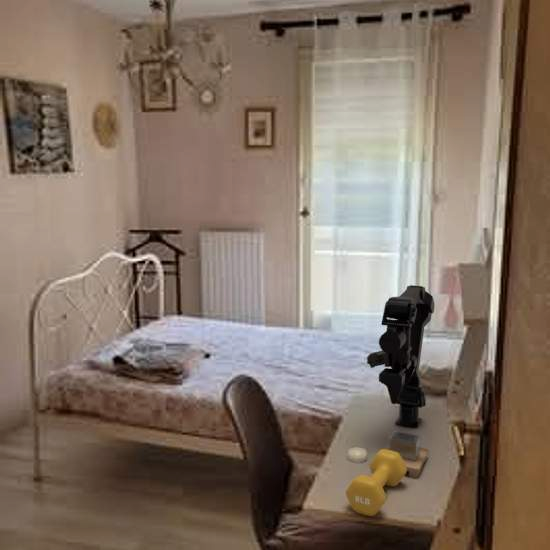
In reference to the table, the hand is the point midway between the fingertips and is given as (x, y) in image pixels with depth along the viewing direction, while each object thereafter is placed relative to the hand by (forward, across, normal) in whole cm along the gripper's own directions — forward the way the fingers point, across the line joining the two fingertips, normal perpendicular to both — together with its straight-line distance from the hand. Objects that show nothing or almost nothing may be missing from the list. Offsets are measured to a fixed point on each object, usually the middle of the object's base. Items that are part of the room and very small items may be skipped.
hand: (397, 397), depth 167 cm
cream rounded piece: (+13, +14, -7) cm, 20 cm away
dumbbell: (+13, +30, +3) cm, 33 cm away
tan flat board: (+13, +12, +5) cm, 18 cm away
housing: (+10, +12, +5) cm, 17 cm away
